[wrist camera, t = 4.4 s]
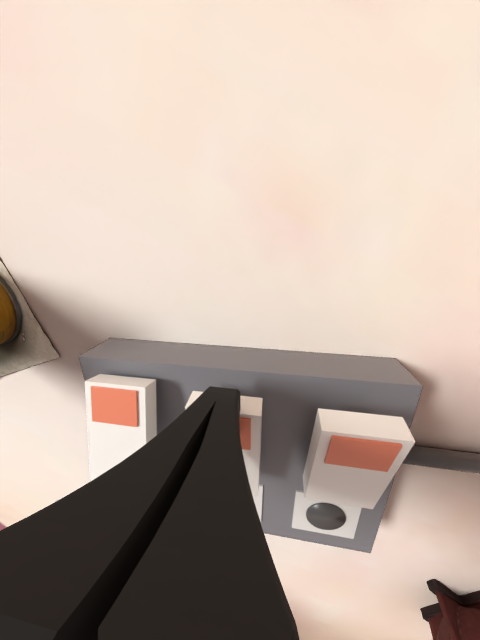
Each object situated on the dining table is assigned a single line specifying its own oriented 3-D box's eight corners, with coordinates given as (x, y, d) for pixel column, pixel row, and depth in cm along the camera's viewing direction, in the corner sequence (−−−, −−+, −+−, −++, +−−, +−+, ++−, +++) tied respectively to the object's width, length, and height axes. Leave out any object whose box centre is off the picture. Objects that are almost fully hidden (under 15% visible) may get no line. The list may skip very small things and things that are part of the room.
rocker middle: (259, 476, 12) (257, 499, 11) (202, 467, 13) (196, 488, 12) (262, 397, 10) (260, 418, 9) (192, 390, 10) (183, 409, 9)
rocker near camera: (365, 485, 12) (373, 512, 11) (302, 476, 12) (304, 500, 11) (402, 417, 9) (417, 444, 8) (318, 408, 9) (322, 433, 8)
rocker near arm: (157, 478, 12) (145, 495, 11) (104, 469, 13) (88, 485, 12) (156, 379, 12) (143, 388, 11) (99, 373, 12) (82, 381, 11)
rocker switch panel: (494, 530, 15) (537, 588, 12) (137, 472, 19) (115, 508, 16) (585, 372, 11) (676, 410, 9) (109, 338, 15) (75, 357, 12)
